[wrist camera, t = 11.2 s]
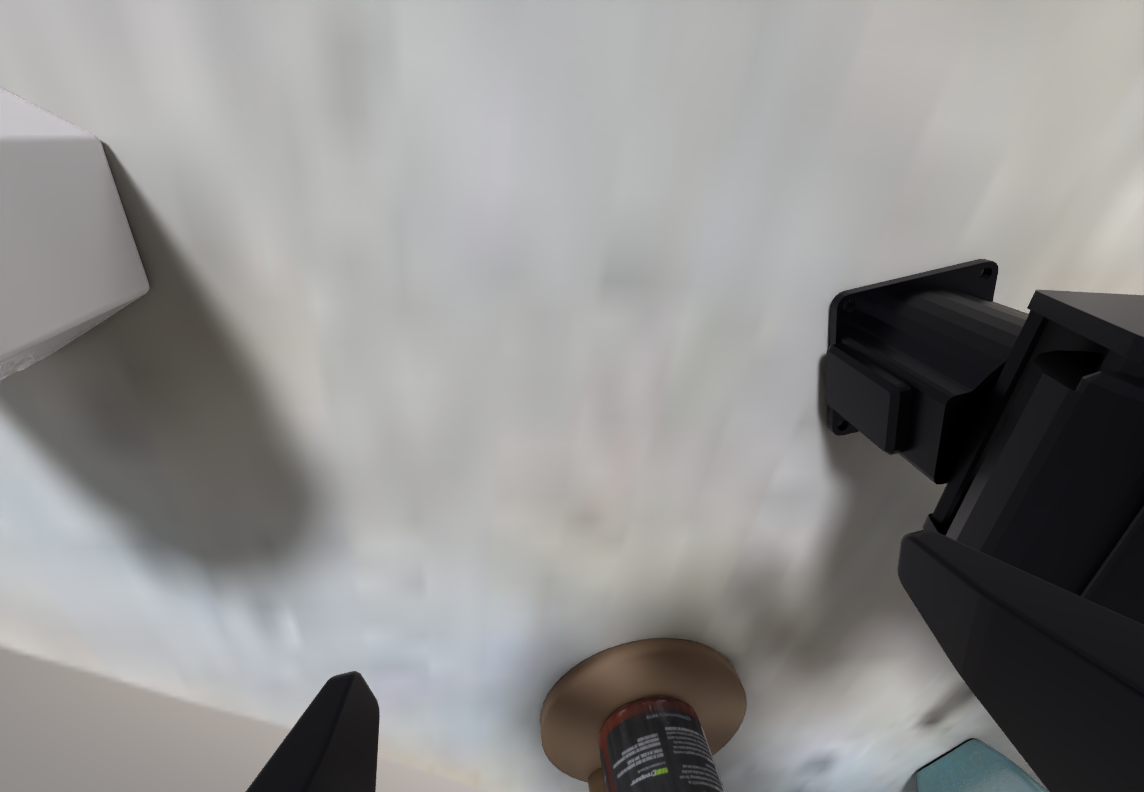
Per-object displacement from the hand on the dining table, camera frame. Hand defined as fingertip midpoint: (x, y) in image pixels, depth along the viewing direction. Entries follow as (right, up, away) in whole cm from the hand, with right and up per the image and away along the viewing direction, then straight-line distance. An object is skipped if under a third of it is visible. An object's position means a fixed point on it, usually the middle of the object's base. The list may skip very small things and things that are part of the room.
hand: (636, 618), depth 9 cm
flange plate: (+3, -15, +23) cm, 27 cm away
